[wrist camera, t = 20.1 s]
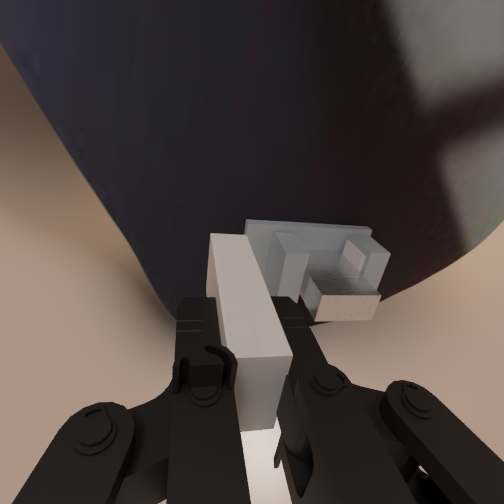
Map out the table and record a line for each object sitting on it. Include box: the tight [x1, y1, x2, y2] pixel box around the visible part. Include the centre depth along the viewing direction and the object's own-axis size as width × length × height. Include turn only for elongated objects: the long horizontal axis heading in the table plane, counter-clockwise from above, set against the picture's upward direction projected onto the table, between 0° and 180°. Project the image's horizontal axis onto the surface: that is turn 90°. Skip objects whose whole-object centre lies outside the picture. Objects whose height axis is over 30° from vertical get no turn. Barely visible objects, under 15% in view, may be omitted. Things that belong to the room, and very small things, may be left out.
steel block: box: [300, 249, 381, 321], centre depth 43 cm, size 4×8×12 cm, turn 82°
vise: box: [244, 219, 391, 290], centre depth 46 cm, size 12×21×8 cm, turn 82°
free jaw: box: [265, 232, 309, 303], centre depth 44 cm, size 13×4×6 cm, turn 172°
